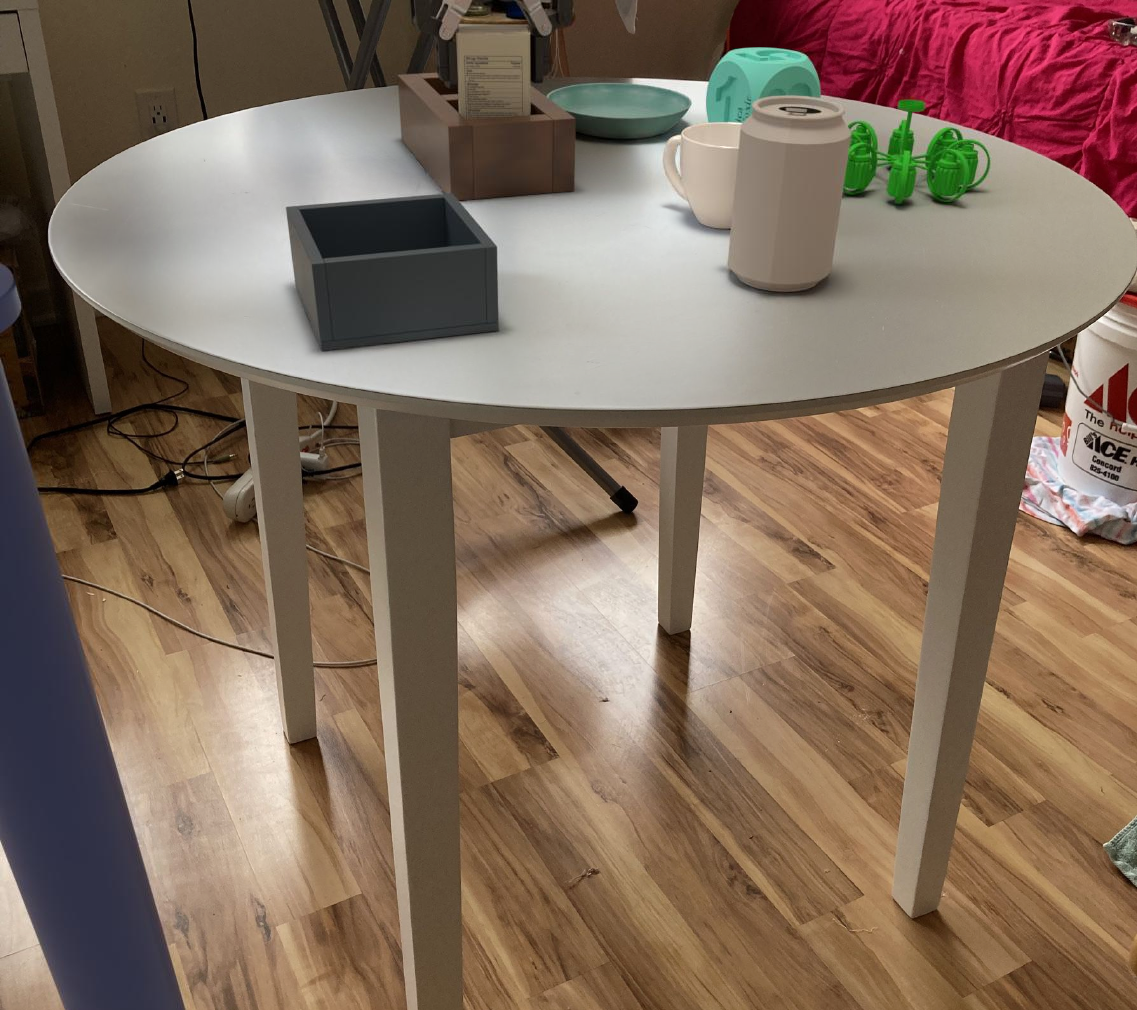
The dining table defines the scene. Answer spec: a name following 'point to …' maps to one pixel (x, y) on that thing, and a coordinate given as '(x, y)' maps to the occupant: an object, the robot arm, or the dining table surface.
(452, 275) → the open box
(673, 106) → the saucer
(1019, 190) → the dining table surface
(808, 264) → the can
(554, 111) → the box
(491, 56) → the cosmetic box
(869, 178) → the chandelier
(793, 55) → the decorative dice
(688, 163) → the cup
